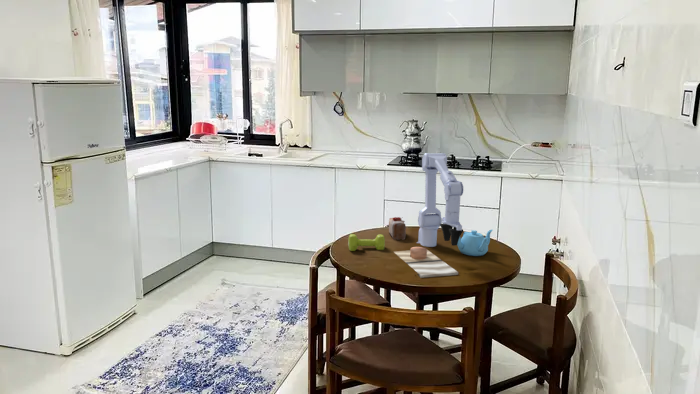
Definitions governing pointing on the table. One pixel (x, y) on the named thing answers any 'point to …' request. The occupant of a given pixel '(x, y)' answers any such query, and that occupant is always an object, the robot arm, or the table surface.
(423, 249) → the puck
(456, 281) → the table surface
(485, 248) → the teapot
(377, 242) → the dumbbell
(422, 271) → the board
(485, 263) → the table surface
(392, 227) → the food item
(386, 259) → the table surface
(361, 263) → the table surface
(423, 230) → the robot arm
